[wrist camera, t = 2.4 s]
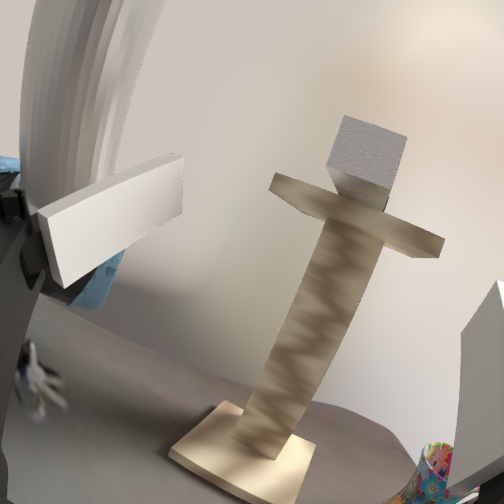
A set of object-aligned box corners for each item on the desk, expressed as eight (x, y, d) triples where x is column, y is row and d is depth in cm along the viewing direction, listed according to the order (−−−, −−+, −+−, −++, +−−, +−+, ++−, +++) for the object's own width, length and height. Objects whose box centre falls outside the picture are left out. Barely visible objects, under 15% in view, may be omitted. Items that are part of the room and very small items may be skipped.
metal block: (395, 191, 14) (414, 128, 14) (321, 164, 16) (342, 104, 15) (377, 228, 35) (387, 200, 35) (345, 216, 36) (356, 187, 36)
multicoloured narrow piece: (359, 528, 24) (416, 466, 22) (384, 490, 31) (429, 433, 30) (437, 566, 16) (502, 507, 15) (449, 523, 24) (500, 467, 22)
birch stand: (167, 456, 28) (275, 172, 25) (221, 407, 42) (306, 201, 38) (284, 518, 24) (445, 239, 20) (310, 452, 37) (416, 245, 34)
